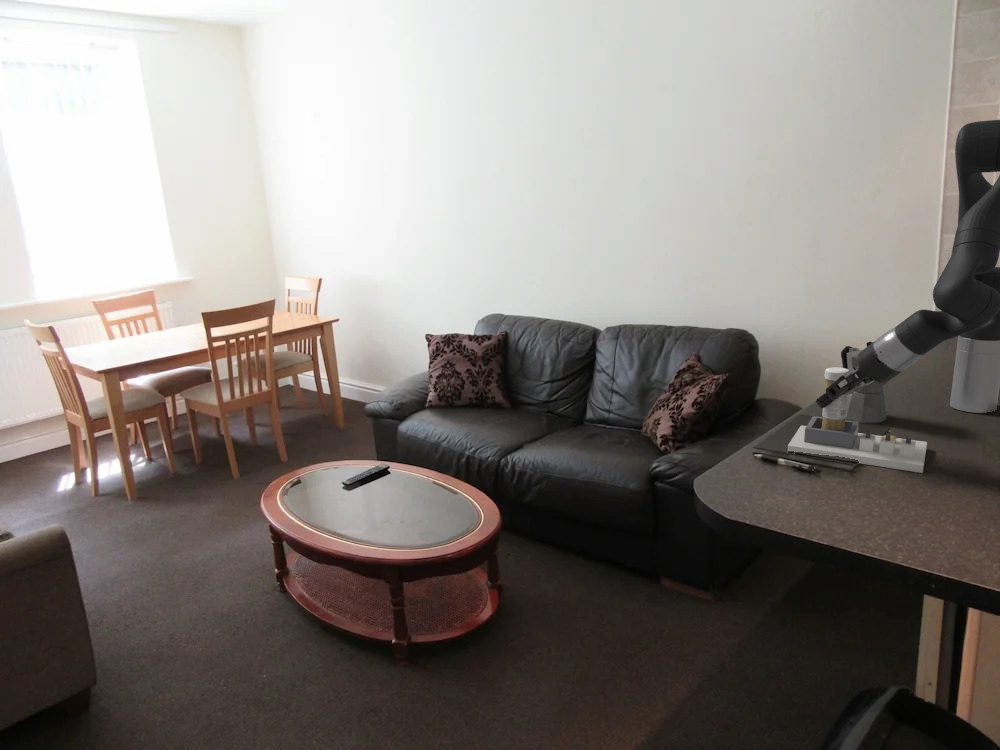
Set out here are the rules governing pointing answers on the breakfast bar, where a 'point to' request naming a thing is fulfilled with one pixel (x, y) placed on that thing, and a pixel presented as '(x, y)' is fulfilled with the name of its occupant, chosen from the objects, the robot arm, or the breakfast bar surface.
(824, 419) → the sprinkles bottle
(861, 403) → the coffeepot
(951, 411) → the breakfast bar surface
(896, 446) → the breaker panel
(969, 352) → the robot arm
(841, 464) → the breakfast bar surface
